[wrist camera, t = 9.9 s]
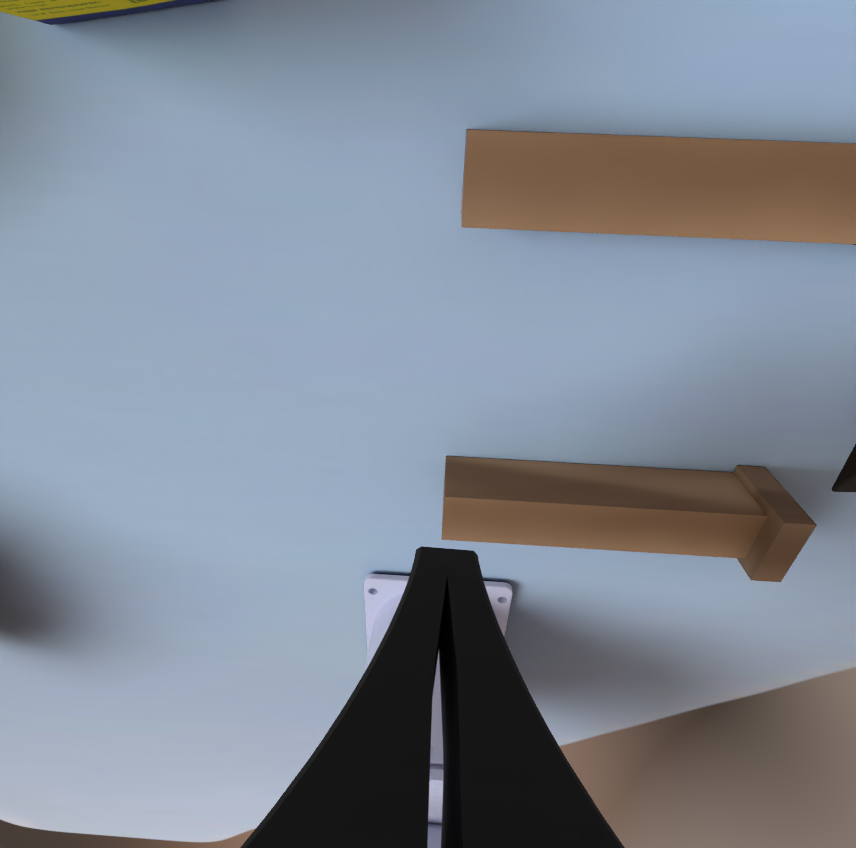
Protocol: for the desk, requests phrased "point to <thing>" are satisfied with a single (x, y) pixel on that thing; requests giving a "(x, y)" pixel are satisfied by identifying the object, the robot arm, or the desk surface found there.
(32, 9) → the supplement box
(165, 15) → the desk surface
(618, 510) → the wooden rail pair
